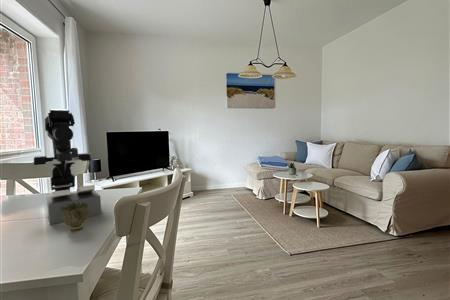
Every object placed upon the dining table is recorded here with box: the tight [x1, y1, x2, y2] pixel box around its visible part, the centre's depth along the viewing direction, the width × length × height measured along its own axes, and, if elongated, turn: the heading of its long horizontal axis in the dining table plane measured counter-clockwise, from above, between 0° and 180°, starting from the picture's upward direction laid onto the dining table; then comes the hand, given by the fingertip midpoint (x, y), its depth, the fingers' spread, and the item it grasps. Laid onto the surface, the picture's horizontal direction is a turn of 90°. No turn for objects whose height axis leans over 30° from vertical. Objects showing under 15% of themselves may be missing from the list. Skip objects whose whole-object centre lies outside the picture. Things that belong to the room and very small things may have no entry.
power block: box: [46, 189, 102, 225], centre depth 93 cm, size 12×16×7 cm
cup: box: [61, 202, 88, 232], centre depth 79 cm, size 8×7×8 cm
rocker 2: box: [76, 184, 96, 194], centre depth 94 cm, size 8×5×2 cm, turn 38°
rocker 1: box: [51, 189, 71, 197], centre depth 89 cm, size 8×5×2 cm, turn 38°
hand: (64, 179), depth 99 cm, fingers closed
